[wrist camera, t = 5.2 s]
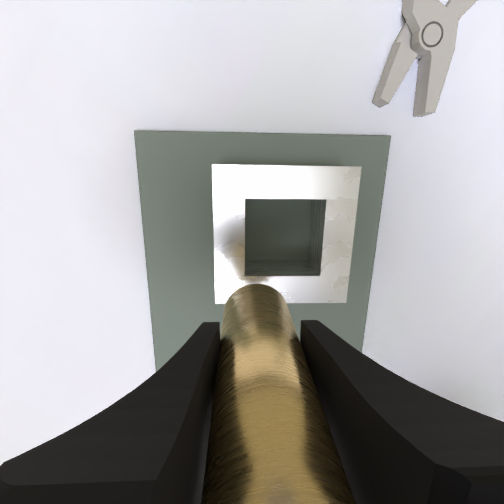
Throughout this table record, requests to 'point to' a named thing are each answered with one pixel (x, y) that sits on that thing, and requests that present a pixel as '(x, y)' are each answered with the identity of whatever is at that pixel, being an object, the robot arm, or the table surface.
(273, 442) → the pin
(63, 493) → the robot arm
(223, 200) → the silver square socket
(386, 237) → the table surface
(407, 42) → the pliers
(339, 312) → the mat
